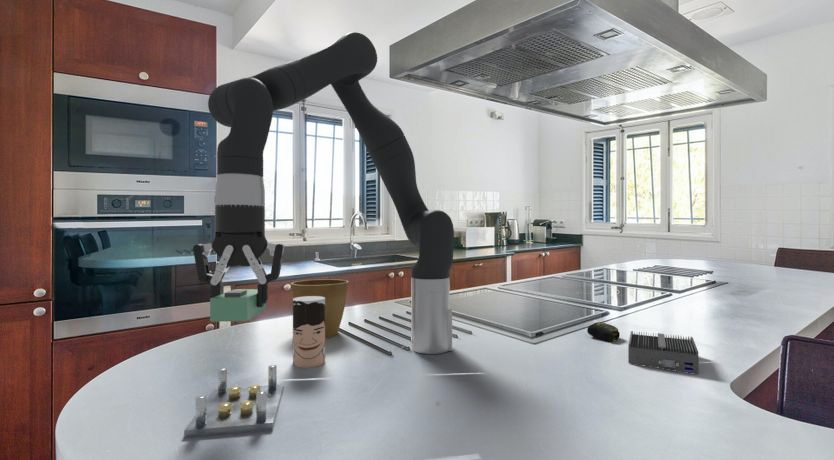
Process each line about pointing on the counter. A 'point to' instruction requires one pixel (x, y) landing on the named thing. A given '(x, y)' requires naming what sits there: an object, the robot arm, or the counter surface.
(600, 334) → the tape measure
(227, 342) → the counter surface
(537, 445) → the counter surface
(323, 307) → the printed cylinder
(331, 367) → the counter surface
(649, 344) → the electronic device
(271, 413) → the chassis
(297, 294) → the plant pot
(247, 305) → the green block
